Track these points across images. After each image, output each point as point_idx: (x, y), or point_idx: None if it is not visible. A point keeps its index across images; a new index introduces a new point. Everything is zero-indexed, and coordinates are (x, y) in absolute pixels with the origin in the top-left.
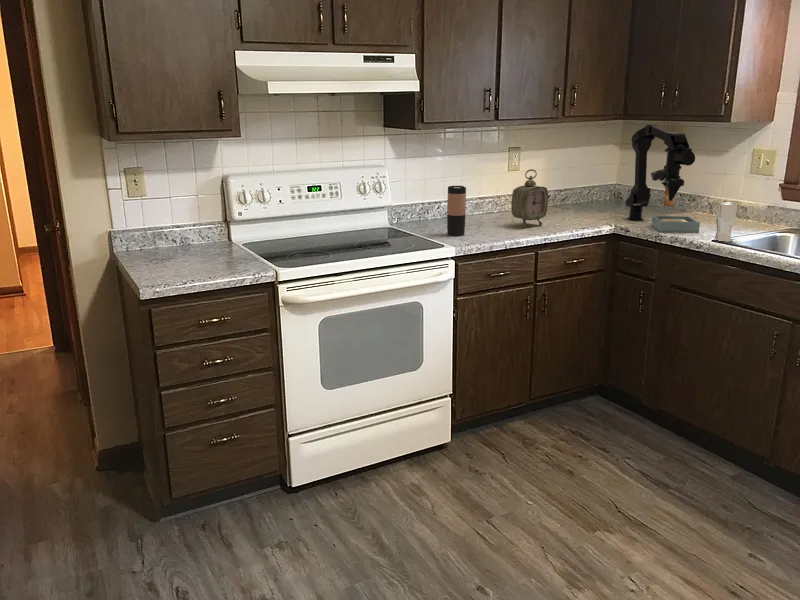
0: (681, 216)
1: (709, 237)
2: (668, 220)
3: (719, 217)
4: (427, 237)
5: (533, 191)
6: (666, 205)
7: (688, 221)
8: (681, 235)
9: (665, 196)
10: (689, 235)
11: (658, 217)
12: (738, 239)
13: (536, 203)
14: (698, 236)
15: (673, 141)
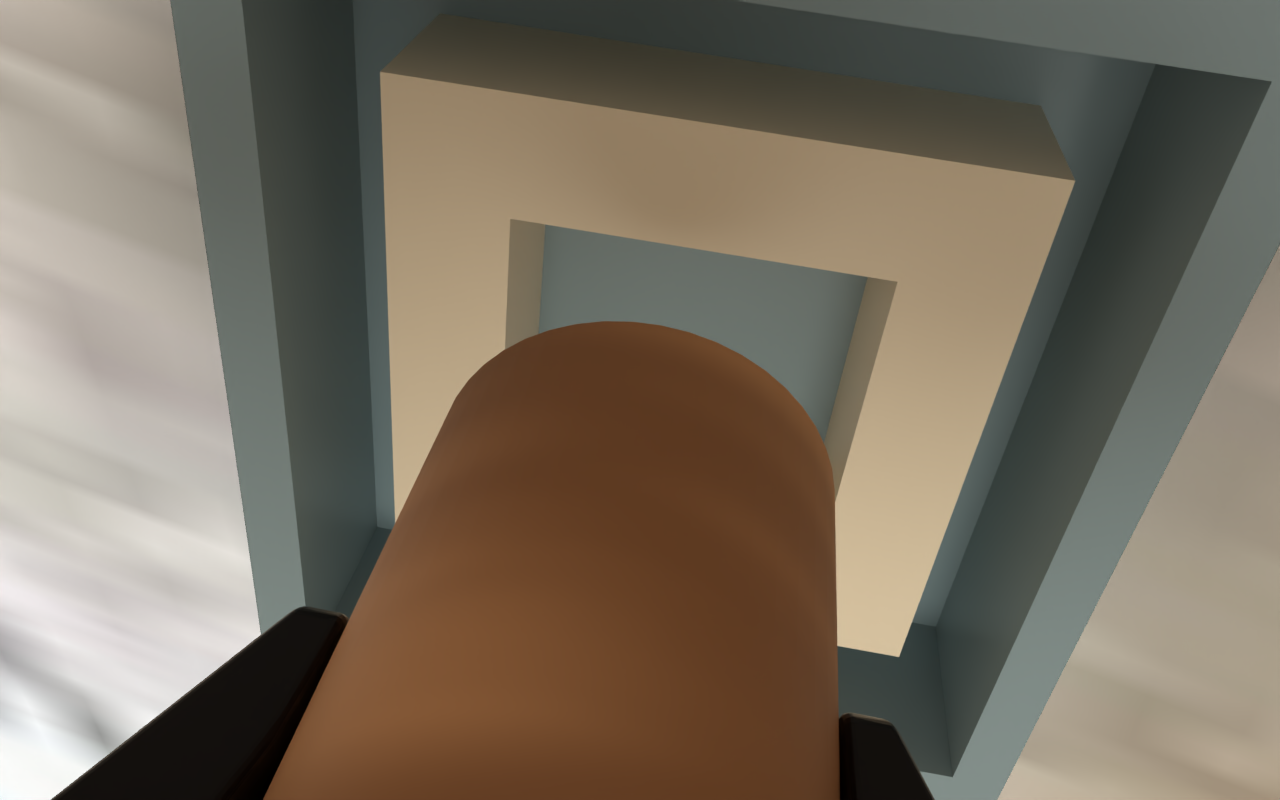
0: (1003, 686)
1: (12, 525)
2: (880, 323)
3: None
4: None
5: None
6: (469, 392)
7: (879, 688)
8: (33, 170)
9: (447, 686)
10: (83, 314)
11: (1210, 171)
12: (4, 755)
13: None
14: (39, 415)
15: None
